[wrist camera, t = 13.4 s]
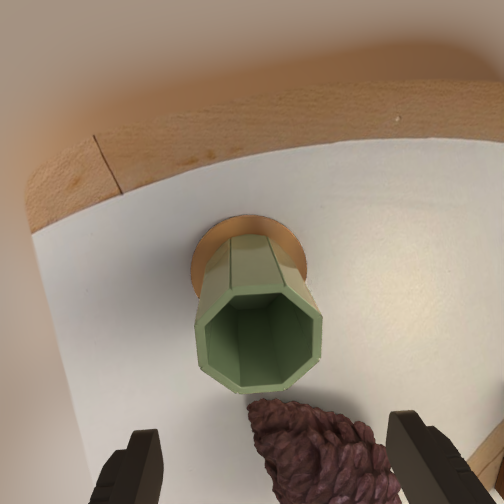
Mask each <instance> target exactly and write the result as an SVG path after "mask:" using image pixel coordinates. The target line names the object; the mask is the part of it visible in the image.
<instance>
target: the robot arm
mask: <svg viewBox="0 0 504 504" xmlns="http://www.w3.org/2000/svg"><path fill="white" fill-rule="evenodd" d="M386 453H387V457H388V460H389V463H390V465H391V467H392V469H393V471H394V473H395V476H396V478H397V480H398V482H399V484H400V486H401V488H402V490H403V492H404V494H405V496H406V498H407V500H408V502H409V504H496V502H495V501H494V500H493V498H492V497H491V495H490V494H489V493H488V491H487V490H486V489H485V487H484V486H483V485H482V483H481V482H480V480H479V479H478V478H477V476H476V475H475V474H474V472H473V471H471V469H470V467H469V465H468V464H467V463H466V461H465V460H464V458H462V457H461V454H460V453H459V452H458V450H457V449H456V447H455V446H454V445H453V443H452V442H451V441H450V439H449V438H448V437H446V436H445V435H444V434H443V433H442V432H440V431H439V430H438V429H437V428H435V427H434V426H426V425H425V424H424V423H423V421H422V420H421V418H420V417H419V415H418V414H417V413H416V412H415V411H414V410H406V411H393V412H391V413H390V415H389V422H388V429H387V437H386ZM163 471H164V464H163V456H162V451H161V445H160V439H159V434H158V430H157V429H147V430H135V431H133V433H132V435H131V438H130V440H129V443H128V446H127V449H124V450H116V451H115V452H114V453H113V454H112V456H111V457H110V458H109V459H108V461H107V462H106V463H105V464H104V466H103V468H102V470H101V473H100V475H99V478H98V480H97V483H96V487H95V488H94V490H93V493H92V495H91V498H90V503H88V504H158V501H159V496H160V491H161V486H162V481H163Z"/></svg>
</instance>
